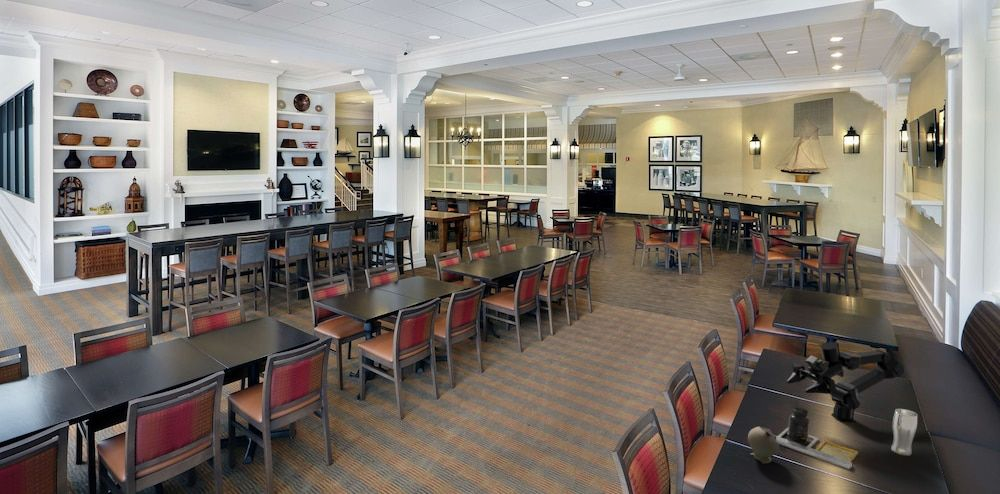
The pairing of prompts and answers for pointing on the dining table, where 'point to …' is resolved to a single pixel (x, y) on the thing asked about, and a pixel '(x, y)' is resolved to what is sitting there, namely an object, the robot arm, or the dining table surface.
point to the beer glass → (903, 431)
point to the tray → (822, 450)
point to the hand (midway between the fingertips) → (796, 386)
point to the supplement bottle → (798, 426)
